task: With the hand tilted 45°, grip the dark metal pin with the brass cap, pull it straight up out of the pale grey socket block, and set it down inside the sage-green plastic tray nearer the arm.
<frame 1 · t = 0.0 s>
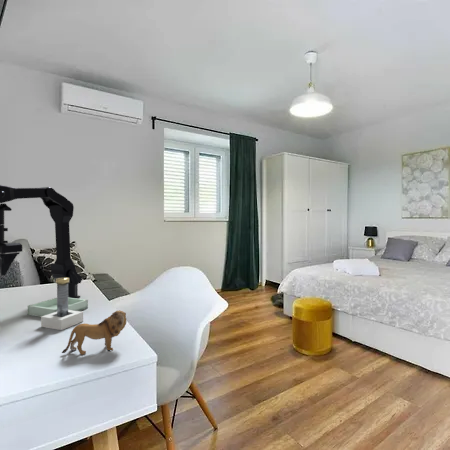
lion figurine: (97, 349, 73), on the table
pin: (62, 324, 90), resting in socket block
tray: (58, 311, 103), on the table
socket block: (62, 323, 90), on the table
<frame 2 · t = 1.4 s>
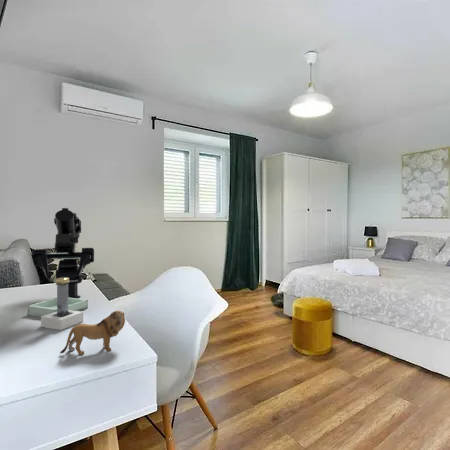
hand: (63, 276, 97), 13 cm above the table, tool tilted 45°, fingers open, 9 cm apart
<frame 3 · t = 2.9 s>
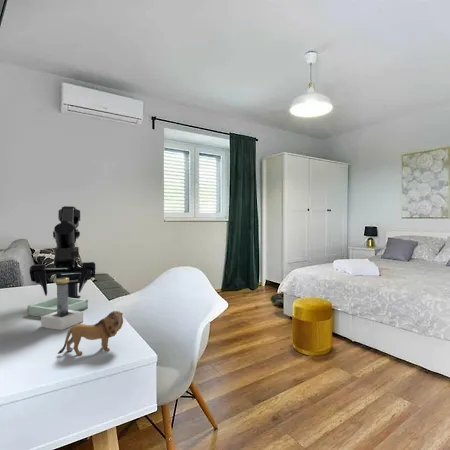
hand: (63, 293, 92), 9 cm above the table, tool tilted 45°, fingers open, 9 cm apart
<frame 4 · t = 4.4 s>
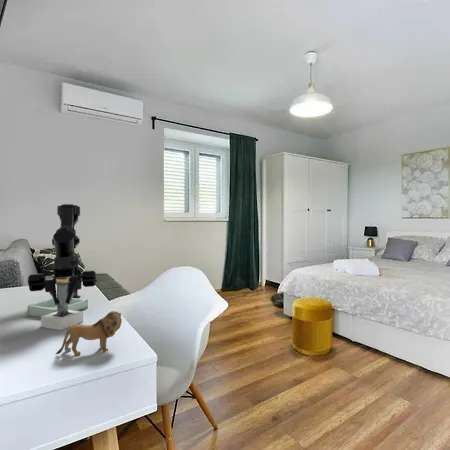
hand: (62, 303, 89), 7 cm above the table, tool tilted 45°, fingers closed on pin, 3 cm apart
pin: (62, 323, 90), resting in socket block, touching gripper
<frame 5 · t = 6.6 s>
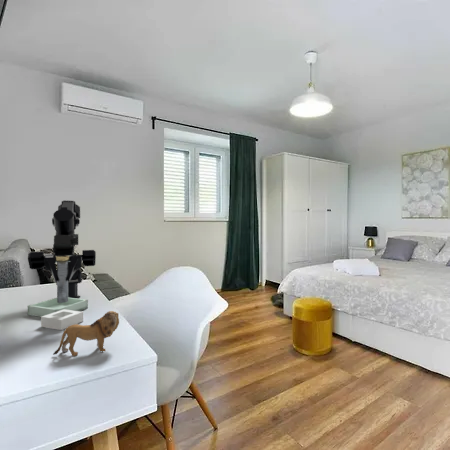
hand: (62, 281, 89), 13 cm above the table, tool tilted 45°, fingers closed on pin, 3 cm apart
pin: (62, 301, 90), point 7 cm above the table, touching gripper
when the fingers open (9 cm above the table, at t = 9.1 s): pin drops 2 cm, resting on tray.
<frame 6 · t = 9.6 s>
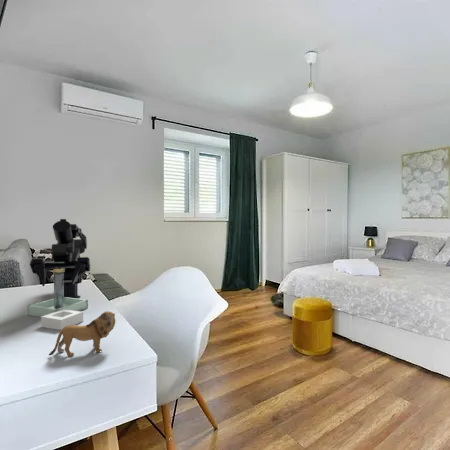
hand: (57, 284, 101), 10 cm above the table, tool tilted 45°, fingers open, 9 cm apart
pin: (58, 308, 103), point 1 cm above the table, touching tray
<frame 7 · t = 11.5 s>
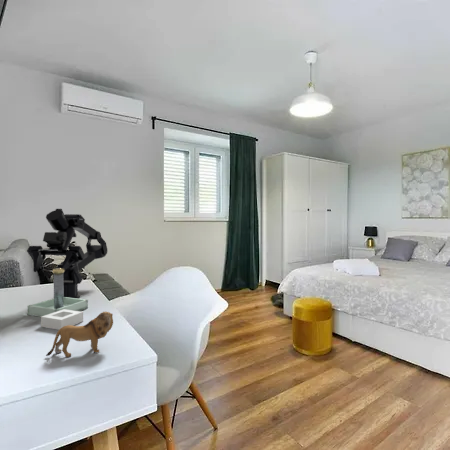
hand: (47, 271, 105), 14 cm above the table, tool tilted 45°, fingers open, 9 cm apart
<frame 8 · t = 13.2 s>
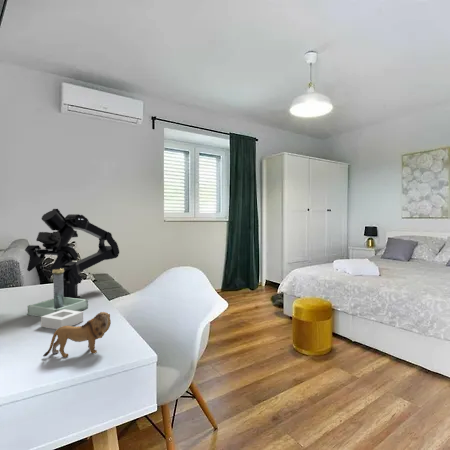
hand: (39, 271, 105), 14 cm above the table, tool tilted 45°, fingers open, 9 cm apart
at the end: pin inside the target area on the tray (0.0 cm from its centre), point 0.8 cm above the tray's base; the gripper is holding nothing; pin moved 15.1 cm from its start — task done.
